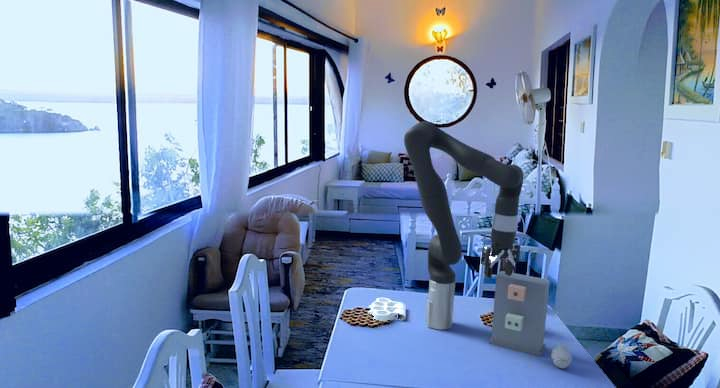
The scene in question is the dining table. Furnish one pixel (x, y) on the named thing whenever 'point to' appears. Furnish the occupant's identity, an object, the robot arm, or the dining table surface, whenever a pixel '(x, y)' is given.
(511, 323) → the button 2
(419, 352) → the dining table surface
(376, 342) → the dining table surface
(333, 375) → the dining table surface
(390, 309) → the white bumpy piece
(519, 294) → the pink rectangular block
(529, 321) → the large grey rectangular box
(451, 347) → the dining table surface
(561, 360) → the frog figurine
